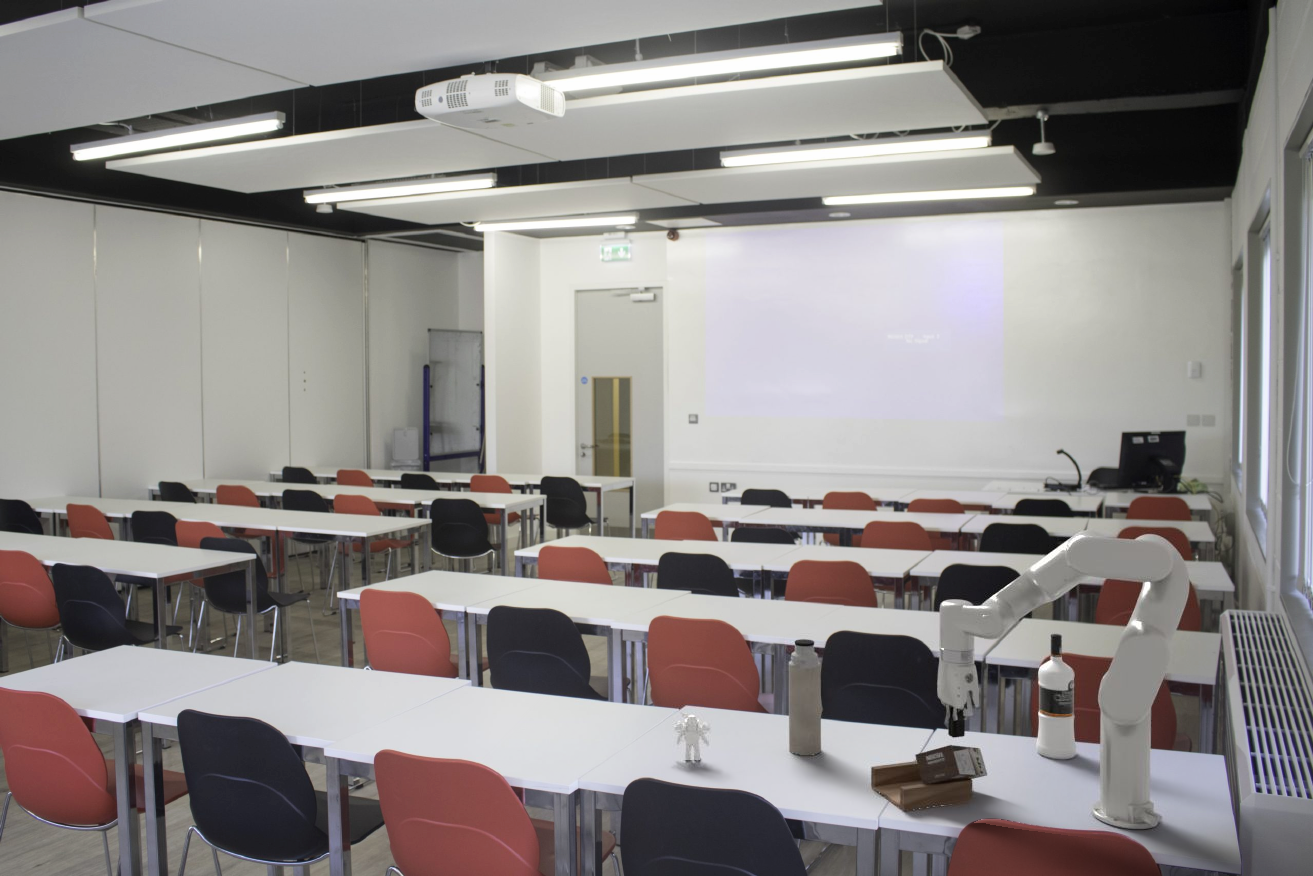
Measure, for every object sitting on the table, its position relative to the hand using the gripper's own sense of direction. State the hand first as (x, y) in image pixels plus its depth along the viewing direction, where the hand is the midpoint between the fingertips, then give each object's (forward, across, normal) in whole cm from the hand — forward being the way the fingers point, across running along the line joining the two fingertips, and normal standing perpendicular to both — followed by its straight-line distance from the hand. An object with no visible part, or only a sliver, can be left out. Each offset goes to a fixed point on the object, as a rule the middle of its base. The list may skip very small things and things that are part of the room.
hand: (956, 735), depth 221 cm
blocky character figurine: (+13, +36, +51) cm, 64 cm away
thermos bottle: (+13, +34, +22) cm, 42 cm away
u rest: (+12, 0, +9) cm, 15 cm away
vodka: (+12, +12, -36) cm, 40 cm away
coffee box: (+8, +1, -3) cm, 9 cm away
